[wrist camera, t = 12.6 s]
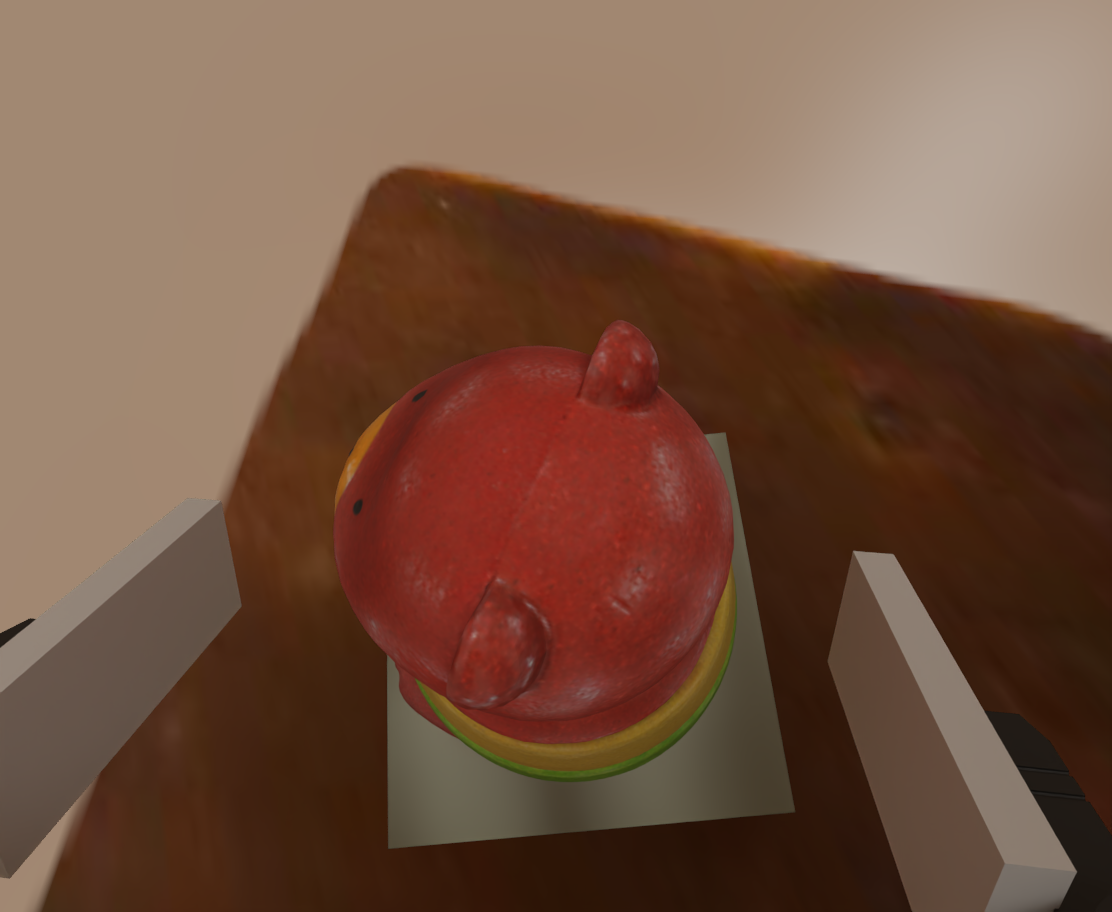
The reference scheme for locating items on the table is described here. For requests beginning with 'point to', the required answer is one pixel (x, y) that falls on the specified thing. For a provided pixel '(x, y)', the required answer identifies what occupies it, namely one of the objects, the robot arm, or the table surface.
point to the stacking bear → (544, 556)
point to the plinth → (615, 802)
